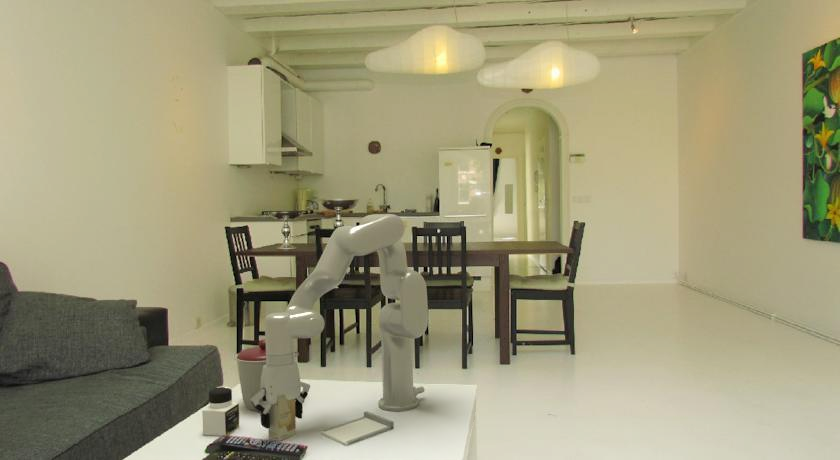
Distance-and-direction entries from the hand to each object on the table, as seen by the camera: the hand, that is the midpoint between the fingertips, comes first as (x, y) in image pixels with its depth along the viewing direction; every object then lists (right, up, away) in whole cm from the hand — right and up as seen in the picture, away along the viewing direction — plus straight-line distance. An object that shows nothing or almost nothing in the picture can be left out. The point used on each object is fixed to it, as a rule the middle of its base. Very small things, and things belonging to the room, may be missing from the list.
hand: (282, 422), depth 151 cm
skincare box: (0, -4, 0) cm, 4 cm away
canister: (-11, -4, +25) cm, 28 cm away
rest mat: (+20, -3, +2) cm, 20 cm away
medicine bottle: (-18, -4, +5) cm, 19 cm away
